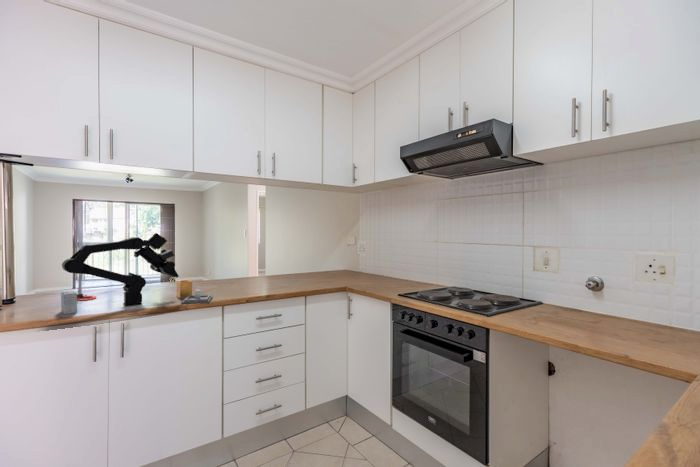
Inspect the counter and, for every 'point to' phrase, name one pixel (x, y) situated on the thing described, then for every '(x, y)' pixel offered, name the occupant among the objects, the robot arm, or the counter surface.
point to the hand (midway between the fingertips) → (174, 276)
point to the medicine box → (69, 302)
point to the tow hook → (80, 295)
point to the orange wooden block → (184, 288)
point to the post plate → (197, 298)
